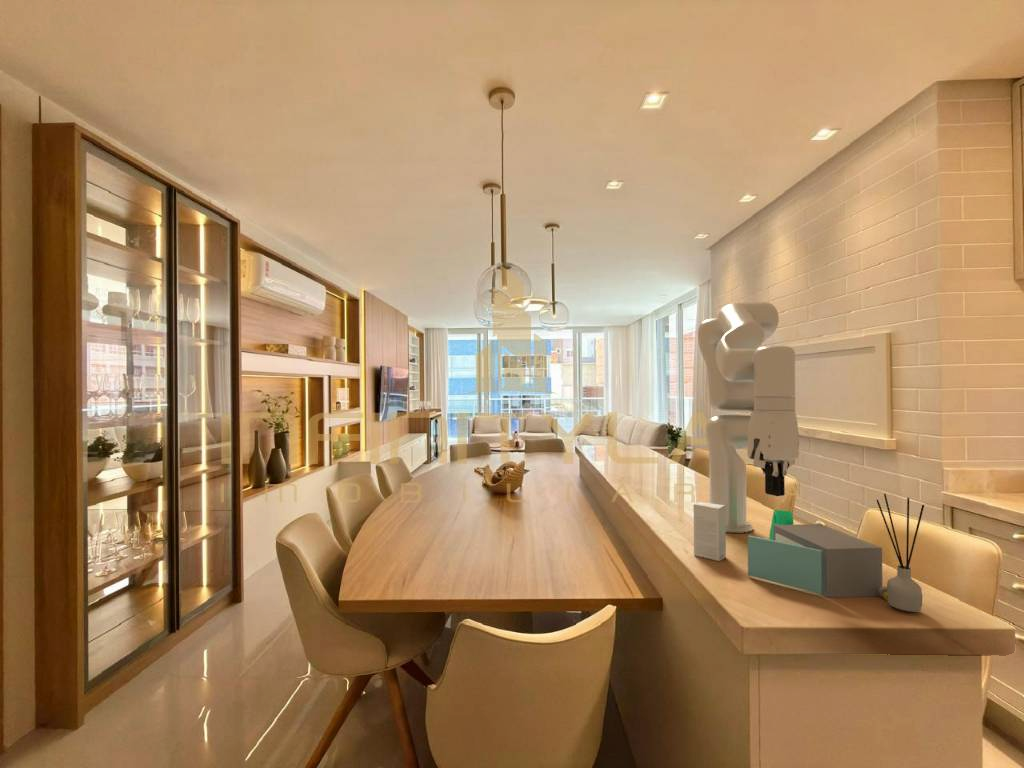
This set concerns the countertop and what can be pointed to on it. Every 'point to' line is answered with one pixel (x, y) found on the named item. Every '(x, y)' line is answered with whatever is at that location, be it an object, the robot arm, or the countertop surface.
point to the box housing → (838, 559)
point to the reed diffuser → (902, 574)
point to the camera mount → (780, 520)
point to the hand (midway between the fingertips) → (774, 494)
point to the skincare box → (709, 531)
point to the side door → (785, 563)
